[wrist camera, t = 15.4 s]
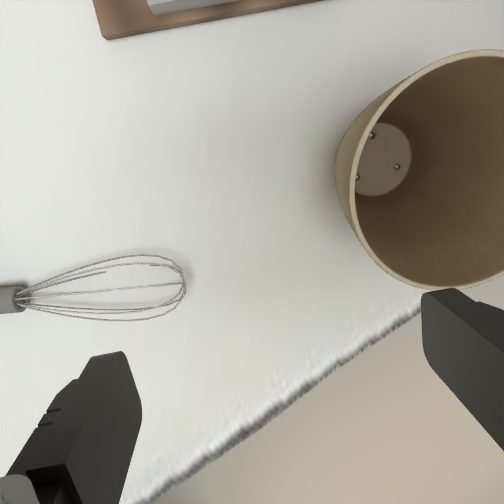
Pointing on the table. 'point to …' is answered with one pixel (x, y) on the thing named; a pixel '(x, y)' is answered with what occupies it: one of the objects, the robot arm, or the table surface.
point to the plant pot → (431, 174)
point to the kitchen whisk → (18, 296)
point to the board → (171, 15)
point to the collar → (180, 5)
